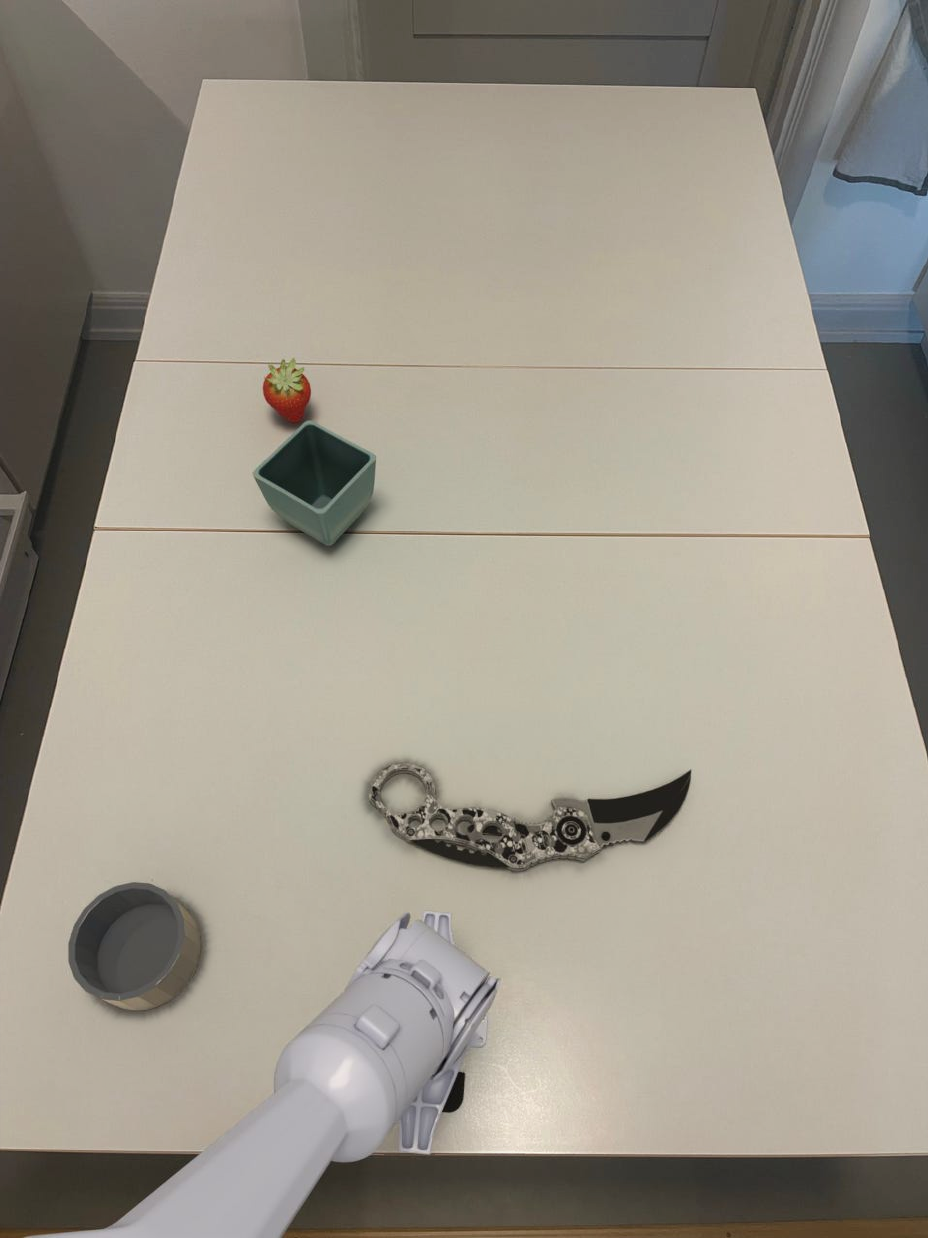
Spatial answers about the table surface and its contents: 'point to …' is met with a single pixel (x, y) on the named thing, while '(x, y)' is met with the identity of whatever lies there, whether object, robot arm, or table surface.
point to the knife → (523, 845)
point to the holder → (134, 947)
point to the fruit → (287, 390)
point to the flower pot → (318, 481)
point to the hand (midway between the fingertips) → (428, 1039)
